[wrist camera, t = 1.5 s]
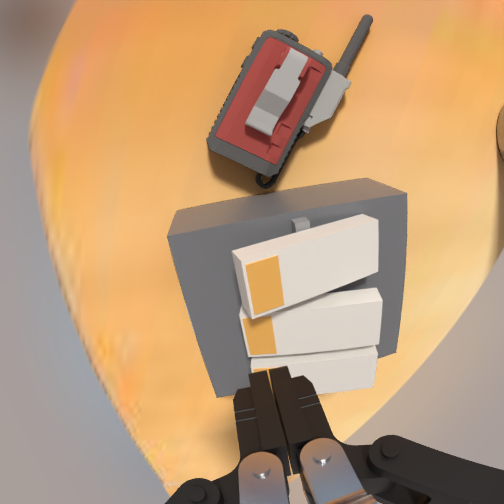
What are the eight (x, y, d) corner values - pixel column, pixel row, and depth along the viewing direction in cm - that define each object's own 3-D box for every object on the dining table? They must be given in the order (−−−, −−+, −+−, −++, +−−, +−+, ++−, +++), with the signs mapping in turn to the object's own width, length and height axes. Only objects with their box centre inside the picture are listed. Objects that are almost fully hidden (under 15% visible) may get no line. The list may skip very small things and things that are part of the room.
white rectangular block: (362, 213, 22) (379, 220, 20) (363, 263, 24) (379, 271, 22) (231, 250, 19) (241, 261, 18) (242, 305, 21) (252, 319, 19)
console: (367, 177, 28) (414, 196, 21) (367, 318, 35) (399, 361, 27) (172, 211, 27) (159, 242, 20) (211, 354, 34) (214, 408, 26)
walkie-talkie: (284, 196, 29) (372, 25, 23) (296, 208, 25) (395, 14, 19) (195, 156, 26) (294, -21, 21) (192, 160, 22) (307, -41, 17)
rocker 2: (373, 339, 24) (378, 354, 22) (369, 372, 25) (373, 387, 24) (252, 351, 25) (250, 367, 24) (259, 383, 27) (257, 398, 25)
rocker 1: (376, 287, 22) (383, 301, 20) (374, 330, 23) (379, 345, 22) (242, 301, 23) (239, 315, 22) (250, 342, 25) (248, 357, 23)
